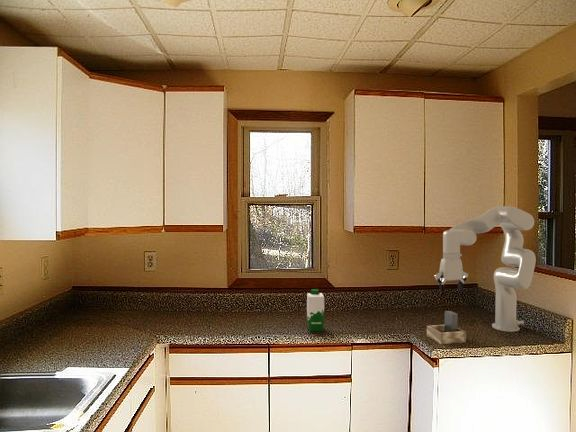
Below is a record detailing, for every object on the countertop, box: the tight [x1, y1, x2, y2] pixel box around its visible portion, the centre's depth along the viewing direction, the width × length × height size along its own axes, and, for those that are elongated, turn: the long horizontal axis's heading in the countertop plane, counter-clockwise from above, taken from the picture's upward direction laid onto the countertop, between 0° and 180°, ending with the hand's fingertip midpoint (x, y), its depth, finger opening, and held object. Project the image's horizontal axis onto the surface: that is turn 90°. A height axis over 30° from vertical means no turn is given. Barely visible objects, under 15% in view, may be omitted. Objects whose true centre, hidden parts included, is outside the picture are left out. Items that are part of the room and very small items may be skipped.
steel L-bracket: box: [444, 310, 459, 333], centre depth 191 cm, size 8×6×12 cm
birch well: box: [426, 324, 467, 345], centre depth 191 cm, size 13×12×5 cm
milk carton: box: [306, 288, 325, 332], centre depth 206 cm, size 9×9×20 cm
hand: (451, 291), depth 191 cm, fingers open, 9 cm apart
